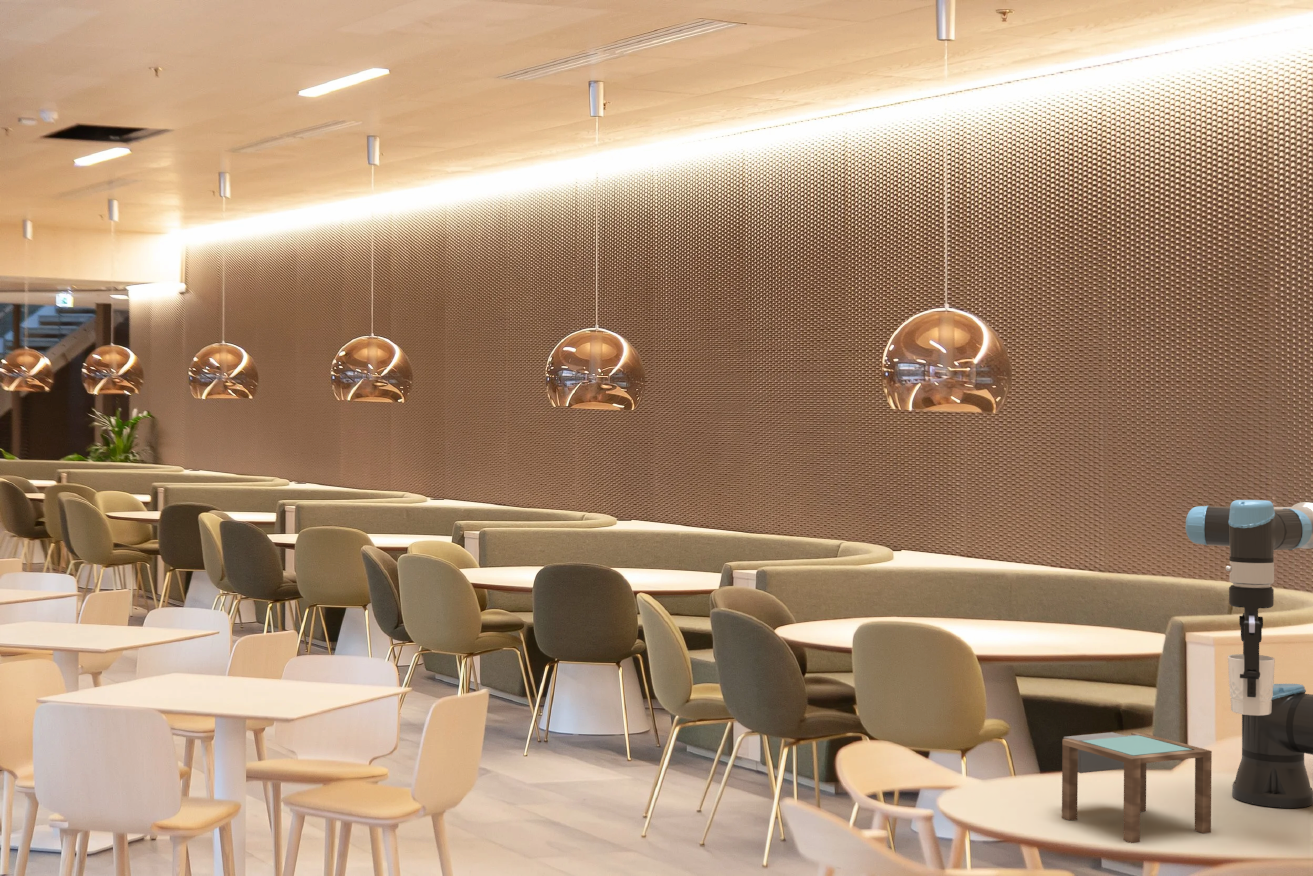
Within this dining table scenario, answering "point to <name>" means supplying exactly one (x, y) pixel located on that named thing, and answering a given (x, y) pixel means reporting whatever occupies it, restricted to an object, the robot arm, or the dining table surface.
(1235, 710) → the white cup
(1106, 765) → the trapdoor
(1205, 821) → the frame
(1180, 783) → the dining table surface
